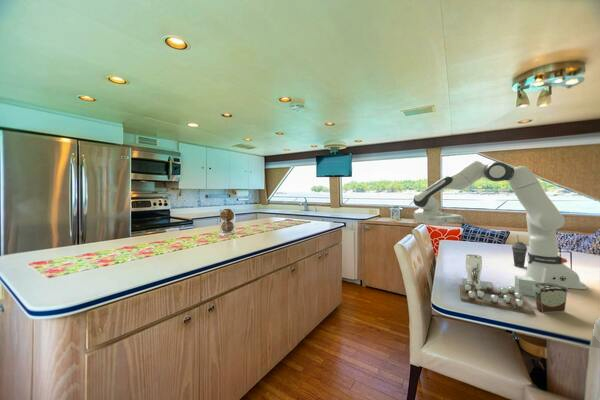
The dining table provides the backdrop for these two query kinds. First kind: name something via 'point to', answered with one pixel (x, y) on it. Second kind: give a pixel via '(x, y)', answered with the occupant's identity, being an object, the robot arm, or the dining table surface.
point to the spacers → (494, 297)
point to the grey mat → (483, 283)
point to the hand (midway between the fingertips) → (460, 220)
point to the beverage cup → (519, 253)
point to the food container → (550, 297)
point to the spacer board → (500, 305)
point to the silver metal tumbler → (474, 268)
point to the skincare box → (524, 285)
